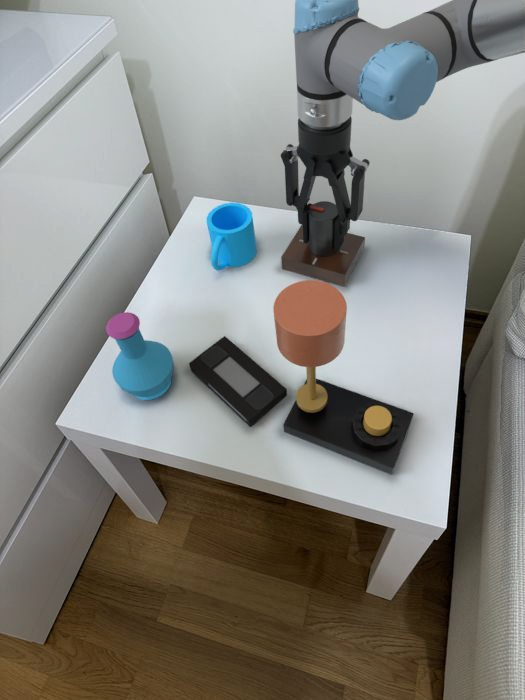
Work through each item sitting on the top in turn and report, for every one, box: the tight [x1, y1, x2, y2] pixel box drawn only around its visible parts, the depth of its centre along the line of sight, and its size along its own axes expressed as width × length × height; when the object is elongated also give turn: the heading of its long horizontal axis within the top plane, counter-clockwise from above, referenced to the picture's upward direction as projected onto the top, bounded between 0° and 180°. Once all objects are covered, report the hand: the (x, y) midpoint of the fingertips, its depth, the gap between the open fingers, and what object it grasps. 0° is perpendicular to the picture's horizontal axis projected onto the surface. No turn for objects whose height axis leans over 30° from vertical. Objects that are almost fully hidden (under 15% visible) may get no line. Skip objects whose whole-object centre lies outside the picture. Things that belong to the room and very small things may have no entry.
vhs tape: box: [188, 335, 288, 428], centre depth 79 cm, size 8×14×2 cm, turn 43°
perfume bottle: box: [105, 311, 174, 401], centre depth 76 cm, size 9×9×15 cm
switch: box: [363, 406, 392, 436], centre depth 69 cm, size 4×4×2 cm
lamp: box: [273, 279, 348, 413], centre depth 65 cm, size 8×8×20 cm
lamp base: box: [282, 378, 415, 476], centre depth 73 cm, size 16×9×4 cm, turn 64°
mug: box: [206, 202, 258, 272], centre depth 93 cm, size 12×8×8 cm
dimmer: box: [309, 200, 338, 257], centre depth 88 cm, size 5×5×8 cm
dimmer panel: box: [280, 224, 366, 288], centre depth 93 cm, size 12×10×3 cm
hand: (323, 241), depth 91 cm, fingers closed on dimmer, 5 cm apart
